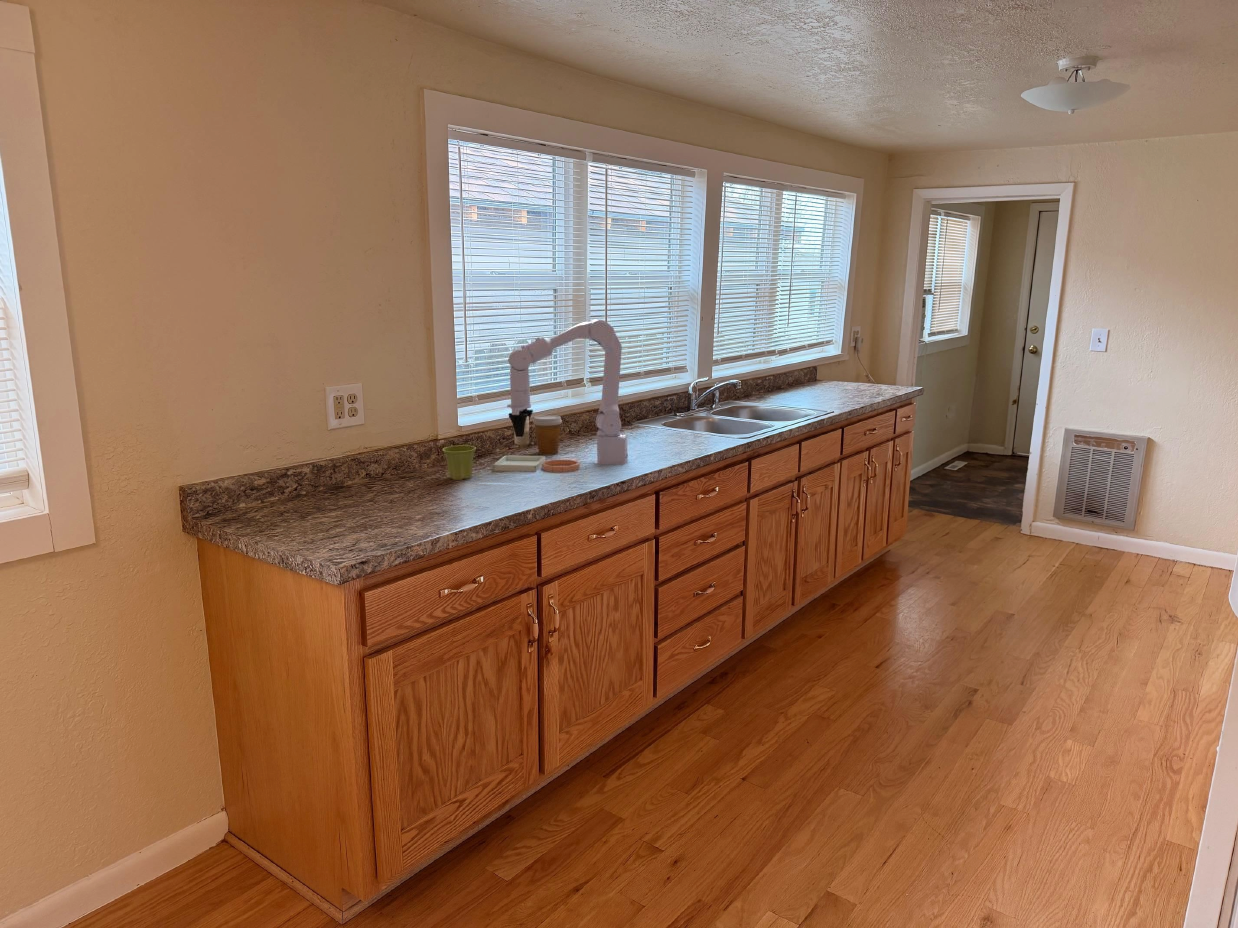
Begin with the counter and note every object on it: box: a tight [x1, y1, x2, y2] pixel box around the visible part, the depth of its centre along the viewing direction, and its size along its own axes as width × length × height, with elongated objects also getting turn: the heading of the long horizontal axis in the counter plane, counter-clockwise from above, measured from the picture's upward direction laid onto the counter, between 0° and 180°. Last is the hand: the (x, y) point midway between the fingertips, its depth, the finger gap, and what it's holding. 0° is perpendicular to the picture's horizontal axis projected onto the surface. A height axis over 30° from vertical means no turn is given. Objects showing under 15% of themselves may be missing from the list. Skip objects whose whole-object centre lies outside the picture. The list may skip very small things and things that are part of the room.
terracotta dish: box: [541, 458, 581, 473], centre depth 256 cm, size 11×11×2 cm
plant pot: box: [442, 444, 477, 481], centre depth 246 cm, size 9×9×9 cm
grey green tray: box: [492, 455, 547, 472], centre depth 259 cm, size 13×14×2 cm
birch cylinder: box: [513, 416, 530, 445], centre depth 257 cm, size 4×4×8 cm
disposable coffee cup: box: [532, 414, 563, 456], centre depth 280 cm, size 10×10×12 cm
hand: (521, 435), depth 257 cm, fingers closed on birch cylinder, 4 cm apart
